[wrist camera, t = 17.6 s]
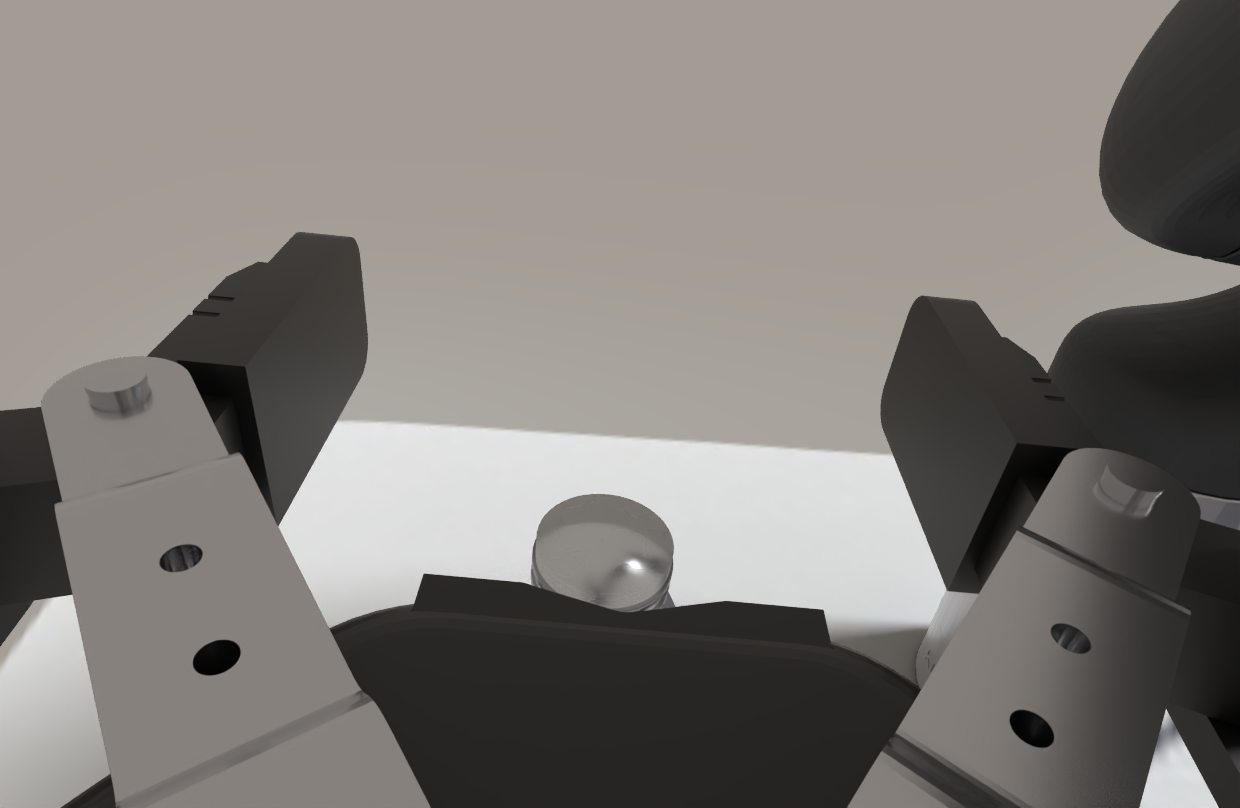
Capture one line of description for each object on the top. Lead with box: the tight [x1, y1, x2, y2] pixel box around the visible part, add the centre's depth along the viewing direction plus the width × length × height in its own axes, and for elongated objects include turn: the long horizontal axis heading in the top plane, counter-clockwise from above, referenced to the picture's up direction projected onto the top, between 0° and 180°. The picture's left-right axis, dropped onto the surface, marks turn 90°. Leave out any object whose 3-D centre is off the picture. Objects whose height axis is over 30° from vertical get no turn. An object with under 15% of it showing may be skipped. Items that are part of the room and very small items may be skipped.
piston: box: [531, 494, 674, 612], centre depth 33 cm, size 5×5×12 cm
